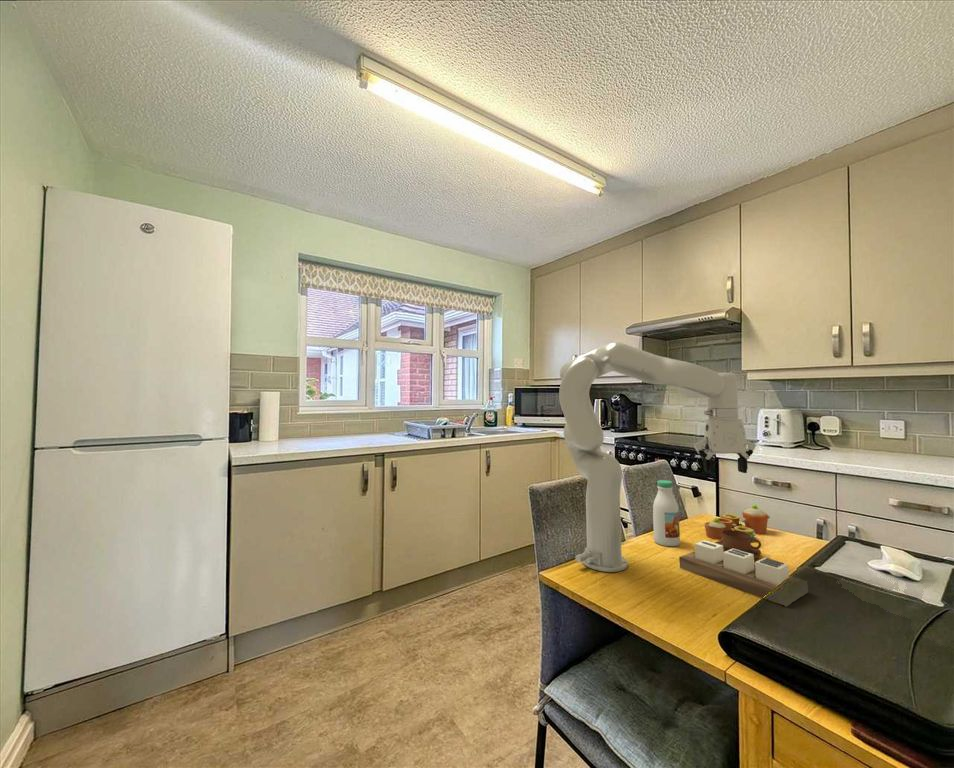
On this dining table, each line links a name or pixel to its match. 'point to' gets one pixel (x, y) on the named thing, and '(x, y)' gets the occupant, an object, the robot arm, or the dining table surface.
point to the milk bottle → (666, 516)
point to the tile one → (709, 552)
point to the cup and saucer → (739, 542)
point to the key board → (726, 575)
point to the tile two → (738, 561)
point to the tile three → (771, 571)
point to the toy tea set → (751, 518)
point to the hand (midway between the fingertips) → (725, 472)
